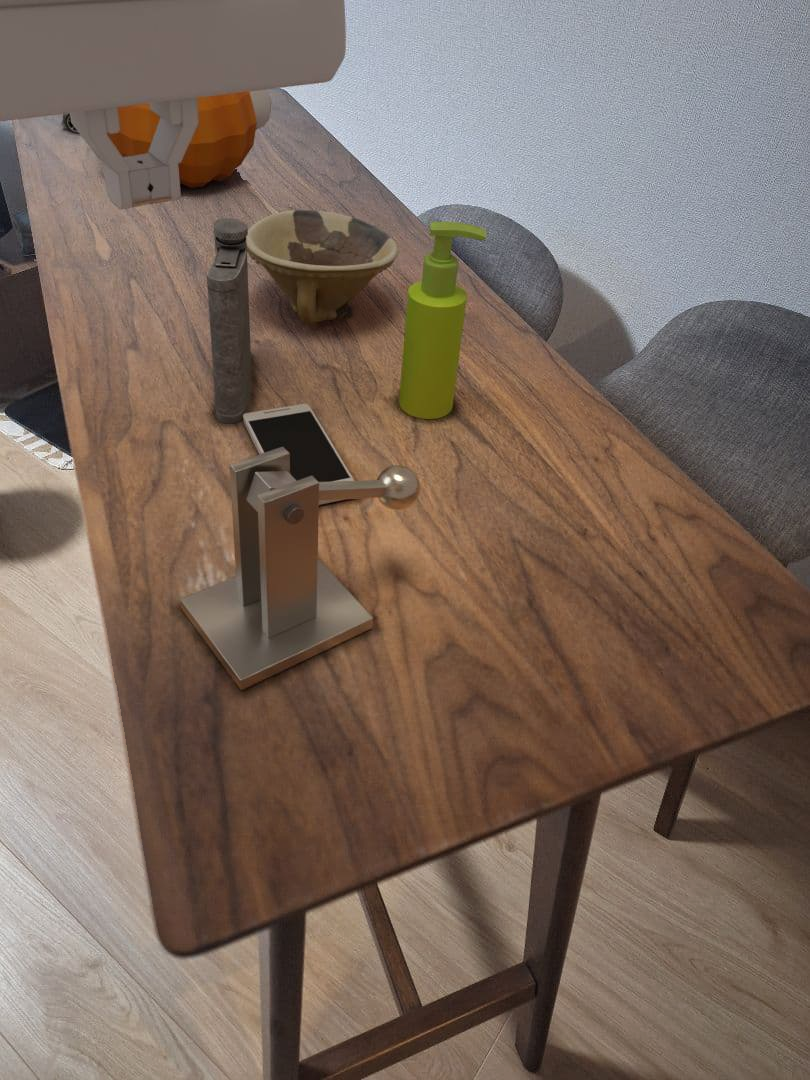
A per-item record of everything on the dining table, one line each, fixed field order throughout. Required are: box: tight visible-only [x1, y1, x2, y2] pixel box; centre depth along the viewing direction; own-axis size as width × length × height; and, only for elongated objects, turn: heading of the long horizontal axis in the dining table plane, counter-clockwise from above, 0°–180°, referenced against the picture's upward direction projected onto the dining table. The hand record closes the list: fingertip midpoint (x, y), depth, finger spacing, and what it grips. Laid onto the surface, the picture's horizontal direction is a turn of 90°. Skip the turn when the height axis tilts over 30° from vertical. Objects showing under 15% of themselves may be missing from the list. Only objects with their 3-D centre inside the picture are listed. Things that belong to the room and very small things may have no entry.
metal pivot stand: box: [179, 447, 374, 691], centre depth 69 cm, size 12×10×15 cm
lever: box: [247, 465, 421, 512], centre depth 70 cm, size 15×4×4 cm, turn 127°
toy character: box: [249, 89, 273, 130], centre depth 159 cm, size 10×10×12 cm
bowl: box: [246, 209, 399, 325], centre depth 111 cm, size 18×18×10 cm
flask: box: [206, 217, 253, 425], centre depth 93 cm, size 4×14×18 cm, turn 6°
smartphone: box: [242, 403, 356, 506], centre depth 90 cm, size 7×16×1 cm, turn 23°
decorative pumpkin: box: [107, 92, 257, 189], centre depth 134 cm, size 24×24×30 cm
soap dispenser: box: [398, 221, 487, 420], centre depth 93 cm, size 6×7×20 cm
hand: (144, 200), depth 43 cm, fingers closed
